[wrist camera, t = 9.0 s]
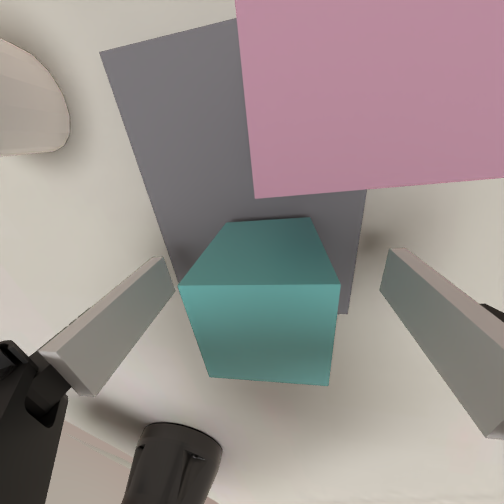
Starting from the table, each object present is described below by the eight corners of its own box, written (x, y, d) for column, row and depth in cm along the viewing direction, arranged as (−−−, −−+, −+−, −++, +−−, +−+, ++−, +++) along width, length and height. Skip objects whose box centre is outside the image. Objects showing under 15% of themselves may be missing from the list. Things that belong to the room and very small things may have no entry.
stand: (192, 304, 19) (134, 406, 11) (113, 60, 11) (-280, -158, 3) (343, 305, 16) (397, 435, 9) (387, -5, 8) (1306, -1349, 1)
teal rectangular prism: (237, 287, 15) (209, 376, 9) (226, 222, 12) (177, 285, 6) (308, 287, 14) (328, 386, 8) (310, 217, 11) (340, 284, 6)
